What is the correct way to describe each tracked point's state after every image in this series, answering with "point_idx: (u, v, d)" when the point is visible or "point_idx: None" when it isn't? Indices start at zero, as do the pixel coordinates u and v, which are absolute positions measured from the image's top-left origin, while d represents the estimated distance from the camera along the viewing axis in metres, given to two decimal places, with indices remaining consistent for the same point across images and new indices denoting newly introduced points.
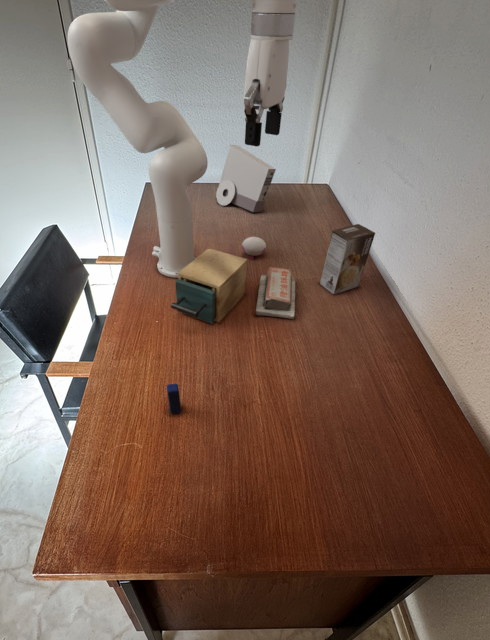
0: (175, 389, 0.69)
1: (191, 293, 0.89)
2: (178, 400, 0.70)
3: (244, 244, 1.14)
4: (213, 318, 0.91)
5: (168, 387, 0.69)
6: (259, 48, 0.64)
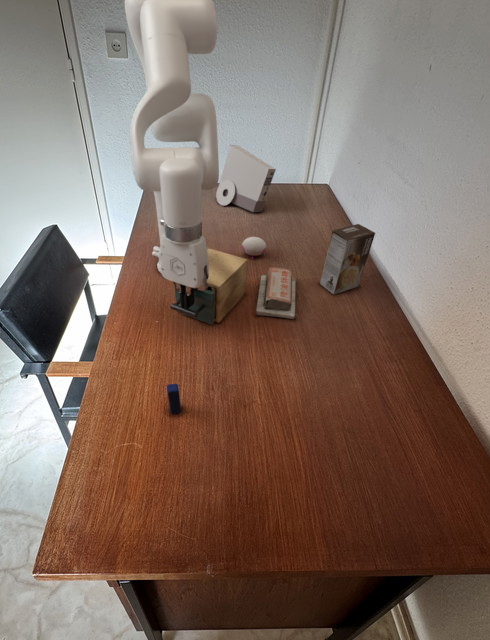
0: (175, 389, 0.69)
1: None
2: (178, 400, 0.70)
3: (244, 244, 1.14)
4: (213, 319, 0.91)
5: (168, 387, 0.69)
6: (203, 246, 0.74)
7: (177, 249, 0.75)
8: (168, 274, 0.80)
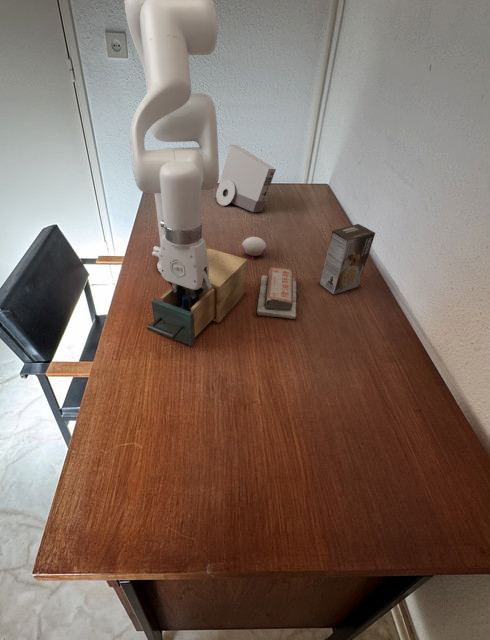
0: None
1: (168, 314, 0.83)
2: None
3: (244, 244, 1.14)
4: (193, 340, 0.85)
5: (183, 296, 0.86)
6: (202, 248, 0.75)
7: (177, 251, 0.75)
8: (168, 275, 0.81)
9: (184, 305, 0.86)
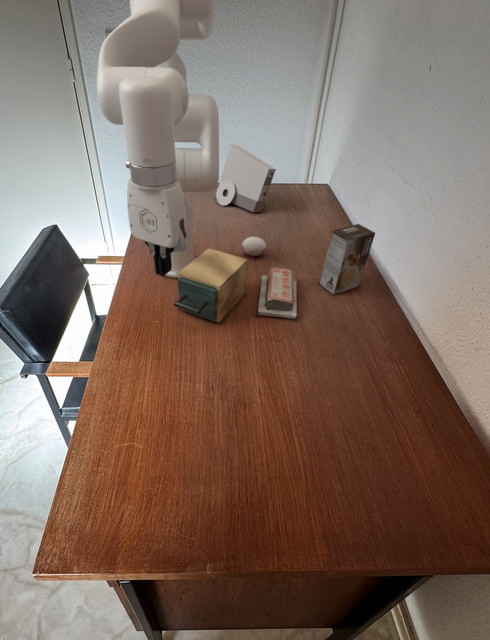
0: None
1: (193, 291, 0.89)
2: (213, 287, 0.94)
3: (244, 244, 1.14)
4: (215, 316, 0.92)
5: None
6: (177, 194, 0.61)
7: (147, 197, 0.61)
8: (138, 231, 0.67)
9: None
